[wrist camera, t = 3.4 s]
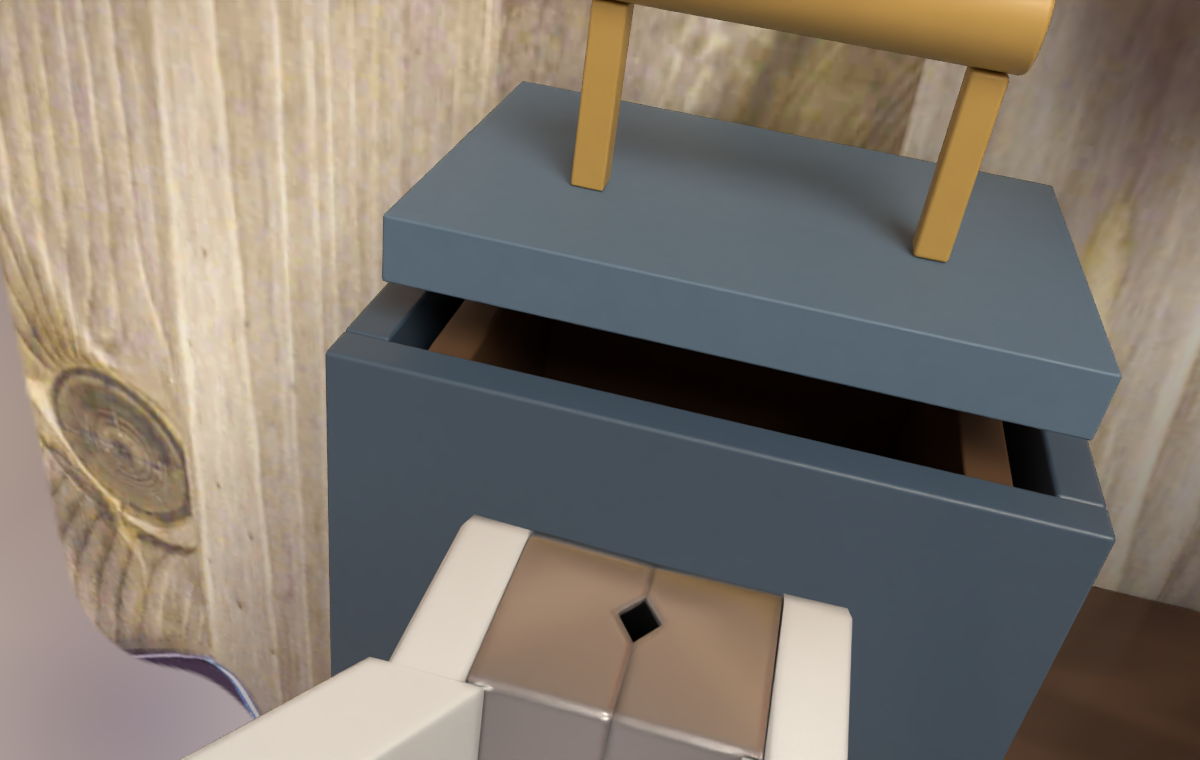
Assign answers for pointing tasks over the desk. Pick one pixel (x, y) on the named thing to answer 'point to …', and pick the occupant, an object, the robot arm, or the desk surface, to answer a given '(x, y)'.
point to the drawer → (771, 251)
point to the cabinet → (713, 523)
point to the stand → (1119, 686)
